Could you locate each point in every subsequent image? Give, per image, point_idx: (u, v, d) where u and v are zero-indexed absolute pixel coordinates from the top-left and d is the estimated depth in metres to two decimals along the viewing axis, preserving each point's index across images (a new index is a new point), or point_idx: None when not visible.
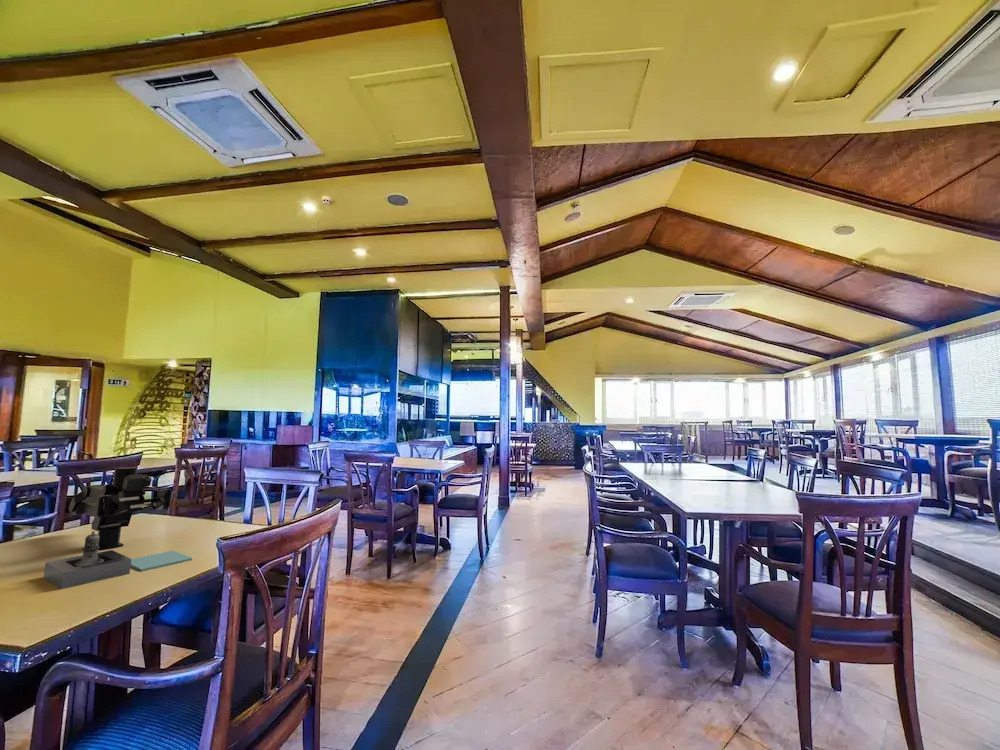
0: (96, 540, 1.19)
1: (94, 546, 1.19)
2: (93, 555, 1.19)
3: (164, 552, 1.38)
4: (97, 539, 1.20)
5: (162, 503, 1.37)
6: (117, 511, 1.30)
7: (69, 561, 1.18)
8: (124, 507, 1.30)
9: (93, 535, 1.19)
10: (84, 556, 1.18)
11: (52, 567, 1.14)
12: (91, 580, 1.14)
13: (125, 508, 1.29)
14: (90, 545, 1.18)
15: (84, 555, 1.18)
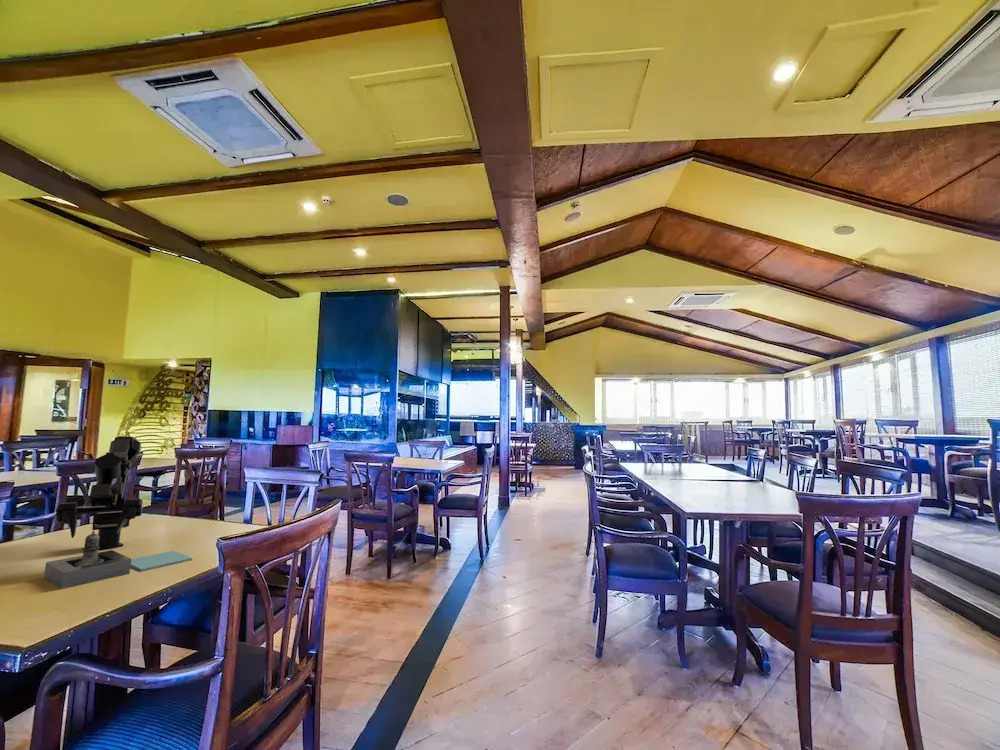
0: (96, 540, 1.19)
1: (94, 546, 1.19)
2: (93, 555, 1.19)
3: (164, 552, 1.38)
4: (97, 539, 1.20)
5: None
6: (70, 529, 1.22)
7: (69, 561, 1.18)
8: (71, 534, 1.20)
9: (93, 535, 1.19)
10: (84, 556, 1.18)
11: (52, 567, 1.14)
12: (91, 580, 1.14)
13: (71, 535, 1.20)
14: (90, 545, 1.18)
15: (84, 555, 1.18)
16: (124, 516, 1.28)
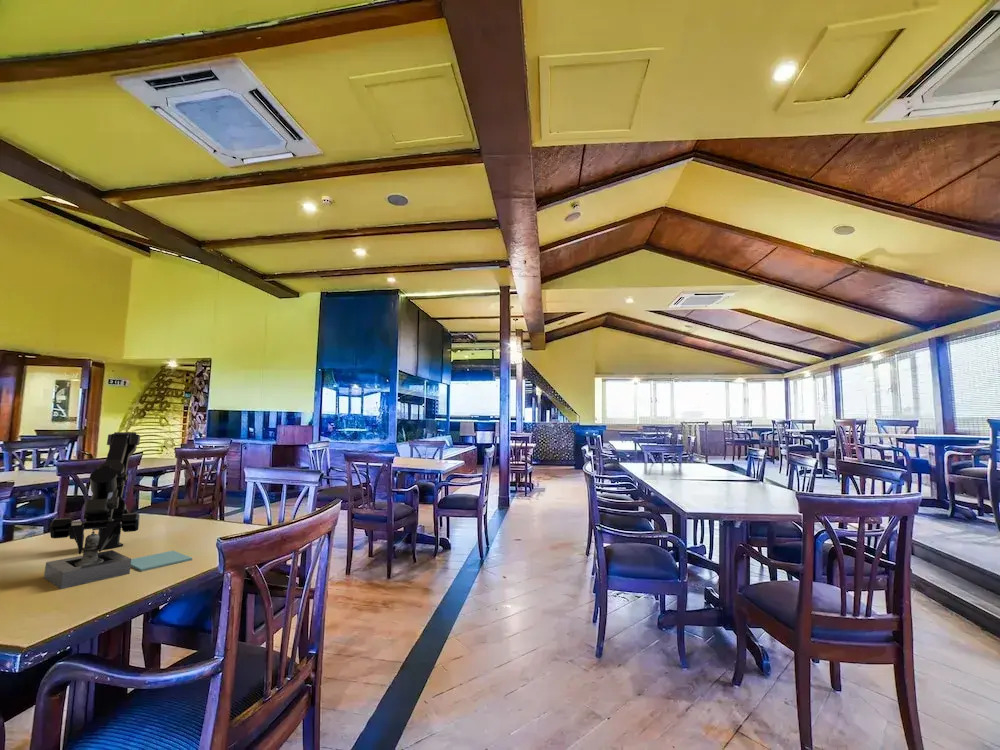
0: (96, 540, 1.19)
1: (94, 546, 1.19)
2: (93, 555, 1.19)
3: (164, 552, 1.38)
4: (97, 539, 1.20)
5: (99, 549, 1.20)
6: (77, 544, 1.19)
7: (69, 561, 1.18)
8: (78, 550, 1.17)
9: (93, 535, 1.19)
10: (84, 556, 1.18)
11: (52, 567, 1.14)
12: (91, 580, 1.14)
13: None
14: (90, 545, 1.18)
15: (84, 555, 1.18)
16: (108, 533, 1.22)
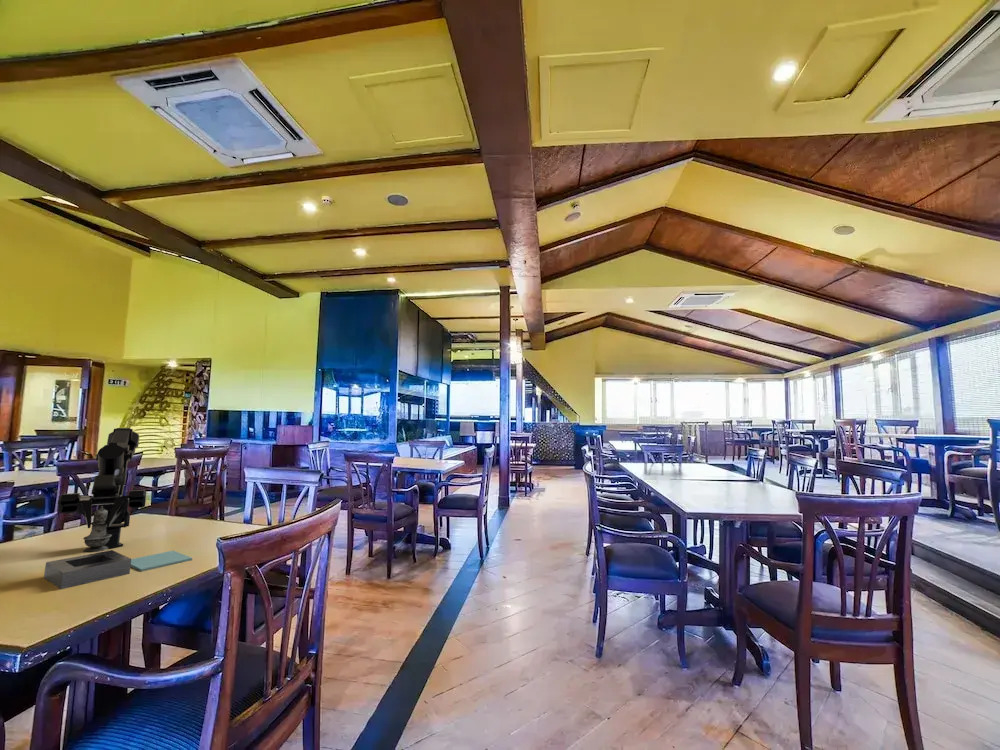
0: (105, 515, 1.21)
1: (103, 520, 1.21)
2: (102, 530, 1.20)
3: (164, 552, 1.38)
4: (105, 514, 1.21)
5: None
6: None
7: (69, 561, 1.18)
8: (87, 524, 1.19)
9: (102, 510, 1.21)
10: (93, 530, 1.19)
11: (52, 567, 1.14)
12: (91, 580, 1.14)
13: None
14: (99, 520, 1.20)
15: (93, 529, 1.19)
16: (116, 508, 1.24)
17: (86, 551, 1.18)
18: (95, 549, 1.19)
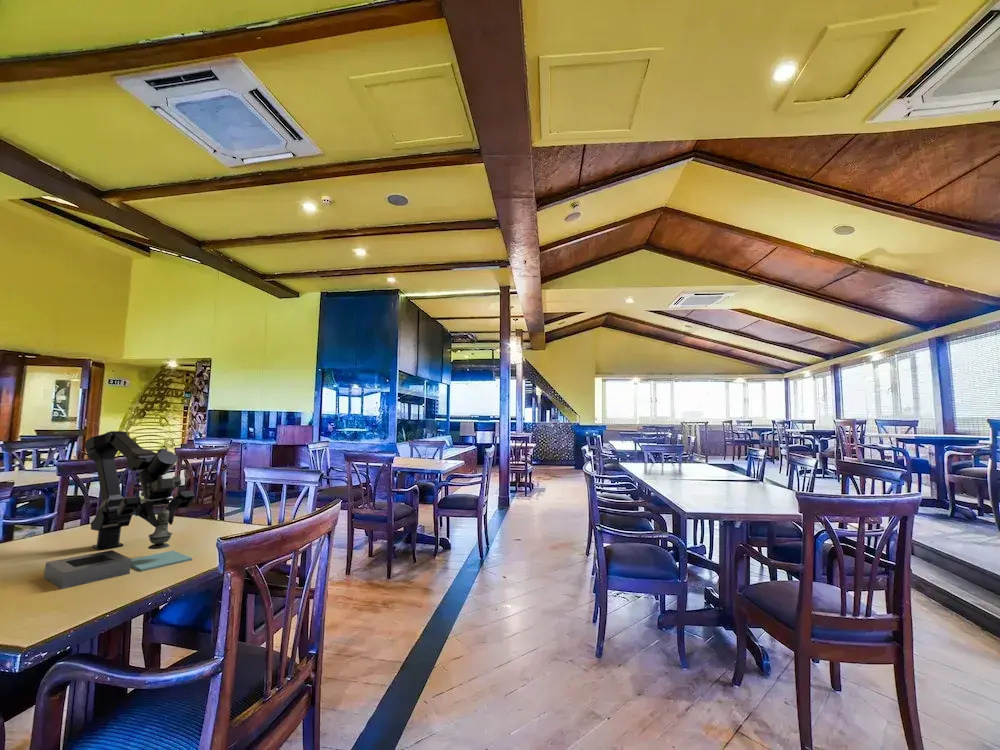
0: (168, 514, 1.34)
1: (167, 519, 1.33)
2: (166, 528, 1.33)
3: (164, 552, 1.38)
4: (168, 514, 1.34)
5: (170, 522, 1.34)
6: (147, 520, 1.31)
7: (69, 561, 1.18)
8: (153, 523, 1.31)
9: (165, 510, 1.33)
10: (159, 529, 1.31)
11: (52, 567, 1.14)
12: (91, 580, 1.14)
13: (154, 525, 1.31)
14: (164, 519, 1.32)
15: (159, 528, 1.31)
16: (174, 508, 1.37)
17: (154, 548, 1.30)
18: (161, 545, 1.31)
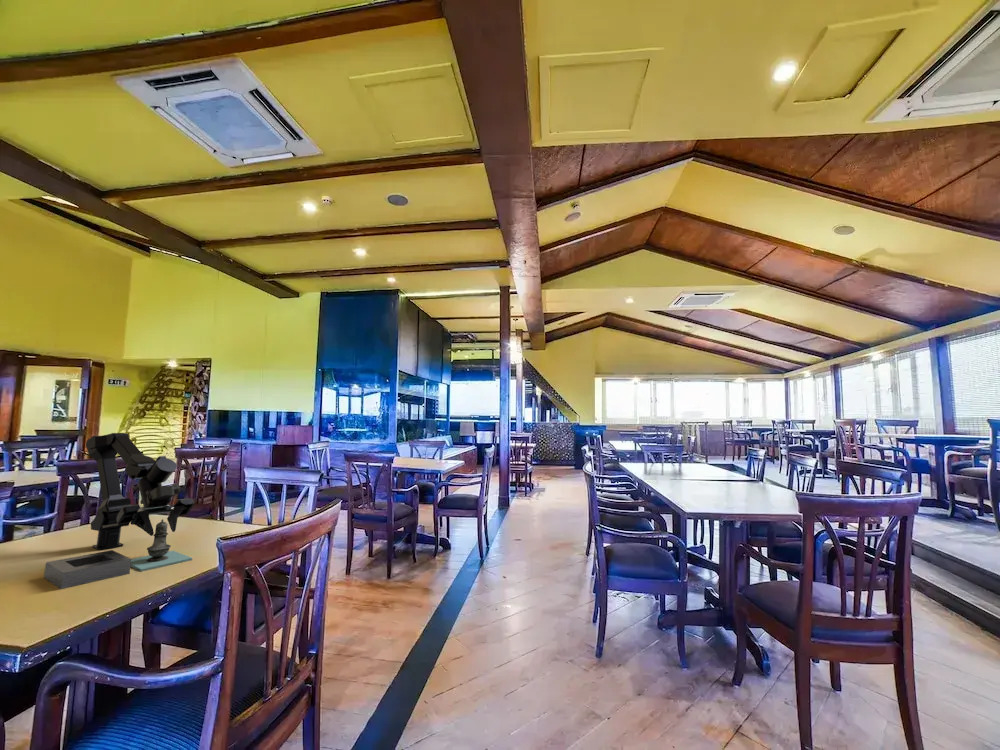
0: (166, 527, 1.33)
1: (165, 532, 1.33)
2: (164, 540, 1.32)
3: None
4: None
5: (173, 530, 1.34)
6: (143, 528, 1.30)
7: (69, 561, 1.18)
8: (149, 532, 1.30)
9: (164, 523, 1.33)
10: (157, 541, 1.31)
11: (52, 567, 1.14)
12: (91, 580, 1.14)
13: (150, 533, 1.30)
14: (162, 531, 1.32)
15: (157, 541, 1.31)
16: (176, 515, 1.37)
17: (153, 561, 1.29)
18: (160, 558, 1.31)
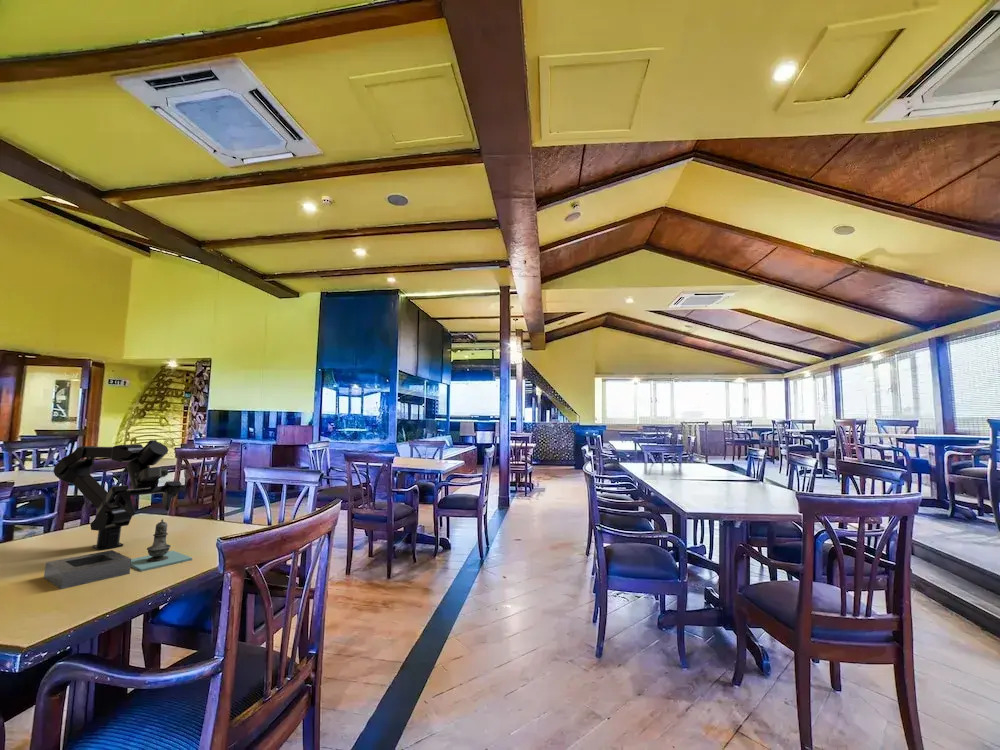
0: (166, 527, 1.33)
1: (165, 532, 1.33)
2: (164, 540, 1.32)
3: None
4: (166, 526, 1.33)
5: (167, 509, 1.42)
6: (124, 509, 1.35)
7: (69, 561, 1.18)
8: (131, 512, 1.34)
9: (163, 522, 1.33)
10: (157, 541, 1.31)
11: (52, 567, 1.14)
12: (91, 580, 1.14)
13: (131, 513, 1.34)
14: (162, 531, 1.32)
15: (157, 541, 1.31)
16: (170, 496, 1.44)
17: (153, 561, 1.29)
18: (160, 558, 1.31)
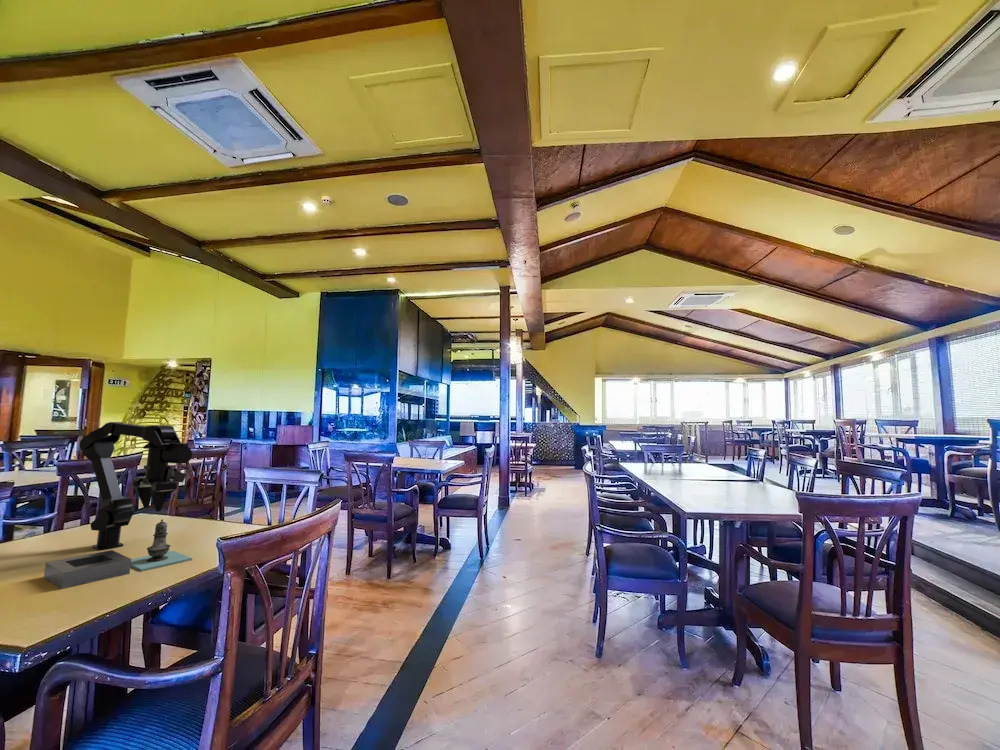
0: (166, 527, 1.33)
1: (165, 532, 1.33)
2: (164, 540, 1.32)
3: None
4: (166, 526, 1.33)
5: (146, 506, 1.46)
6: (156, 501, 1.40)
7: (69, 561, 1.18)
8: (159, 508, 1.41)
9: (163, 522, 1.33)
10: (157, 541, 1.31)
11: (52, 567, 1.14)
12: (91, 580, 1.14)
13: (158, 509, 1.41)
14: (162, 531, 1.32)
15: (157, 541, 1.31)
16: None
17: (153, 561, 1.29)
18: (160, 558, 1.31)
